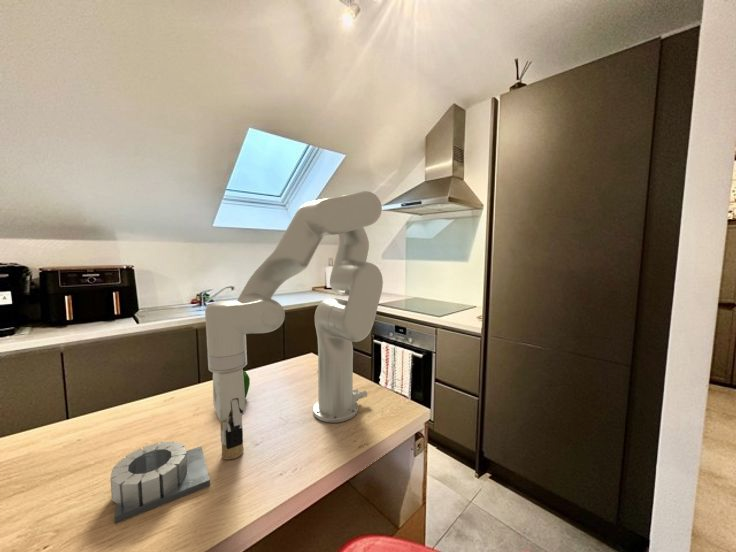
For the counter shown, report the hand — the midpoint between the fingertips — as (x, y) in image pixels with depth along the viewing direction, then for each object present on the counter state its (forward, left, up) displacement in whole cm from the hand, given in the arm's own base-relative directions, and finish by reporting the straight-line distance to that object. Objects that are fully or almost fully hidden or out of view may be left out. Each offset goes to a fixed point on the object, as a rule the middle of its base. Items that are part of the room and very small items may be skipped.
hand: (232, 438), depth 66 cm
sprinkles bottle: (0, 0, -4) cm, 4 cm away
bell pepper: (-6, -25, -4) cm, 26 cm away
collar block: (+13, +1, -4) cm, 13 cm away
